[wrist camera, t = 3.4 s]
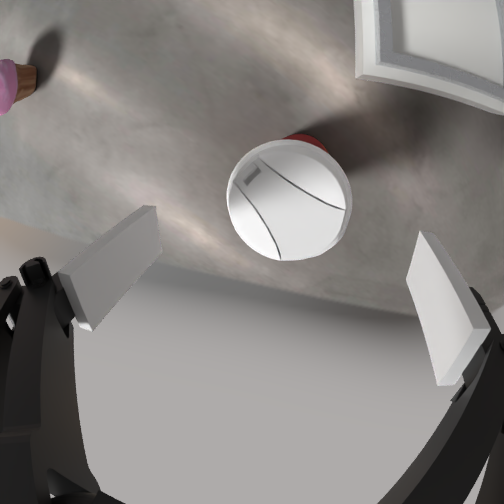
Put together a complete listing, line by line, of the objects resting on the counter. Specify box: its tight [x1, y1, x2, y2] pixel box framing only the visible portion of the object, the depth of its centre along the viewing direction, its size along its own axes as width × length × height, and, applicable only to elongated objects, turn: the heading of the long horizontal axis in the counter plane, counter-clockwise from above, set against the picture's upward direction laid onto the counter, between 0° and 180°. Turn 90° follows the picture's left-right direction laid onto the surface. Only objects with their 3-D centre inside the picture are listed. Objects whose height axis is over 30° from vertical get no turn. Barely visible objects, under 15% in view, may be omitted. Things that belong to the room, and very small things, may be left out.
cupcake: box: [0, 59, 37, 116], centre depth 24 cm, size 9×9×10 cm
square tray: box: [354, 0, 504, 116], centre depth 14 cm, size 16×16×7 cm
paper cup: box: [227, 134, 352, 261], centre depth 22 cm, size 8×8×14 cm
